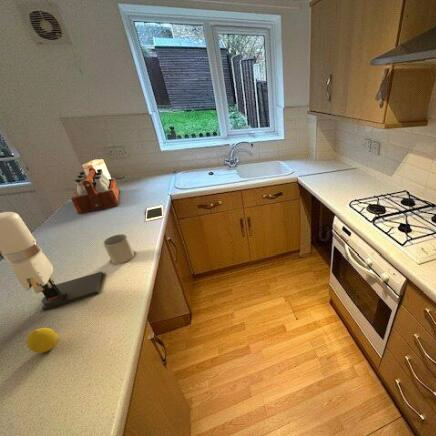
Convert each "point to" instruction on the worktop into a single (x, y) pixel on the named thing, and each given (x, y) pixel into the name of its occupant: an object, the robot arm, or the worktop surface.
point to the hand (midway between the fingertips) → (53, 295)
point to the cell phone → (154, 213)
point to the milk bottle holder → (95, 191)
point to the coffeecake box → (96, 167)
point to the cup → (118, 248)
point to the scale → (75, 290)
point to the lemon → (42, 340)
